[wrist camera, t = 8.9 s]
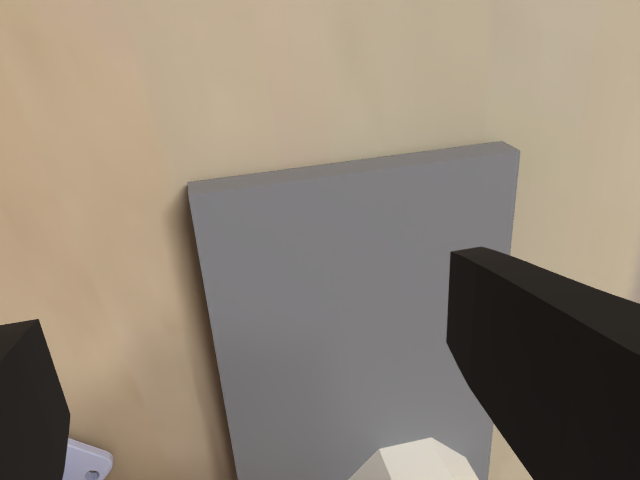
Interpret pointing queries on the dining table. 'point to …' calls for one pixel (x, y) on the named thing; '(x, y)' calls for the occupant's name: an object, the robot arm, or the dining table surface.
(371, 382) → the gray board
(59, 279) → the dining table surface
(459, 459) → the cream ring
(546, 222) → the dining table surface
